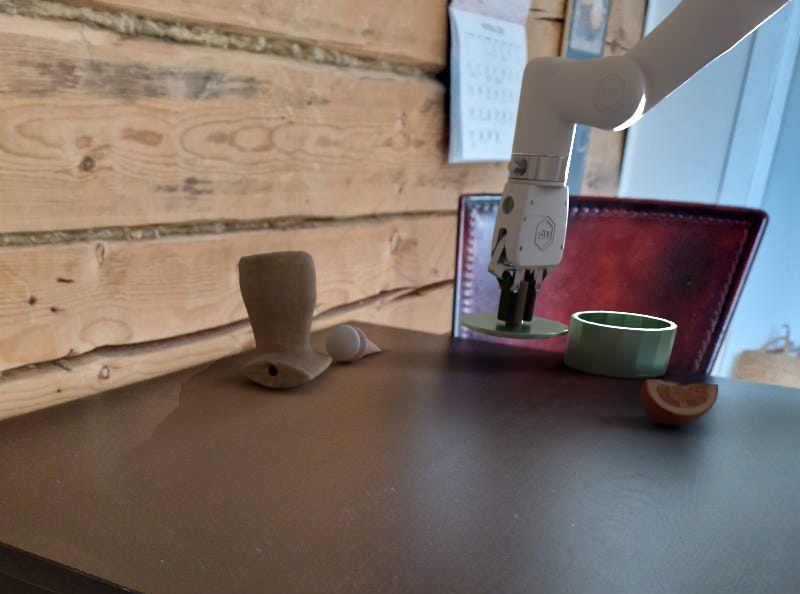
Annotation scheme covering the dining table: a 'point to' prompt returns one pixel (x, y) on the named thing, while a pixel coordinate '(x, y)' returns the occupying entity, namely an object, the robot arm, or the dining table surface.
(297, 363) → the brown flared upright piece
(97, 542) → the dining table surface
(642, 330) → the pan
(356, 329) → the ice cream cone
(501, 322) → the lid
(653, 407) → the fruit slice
